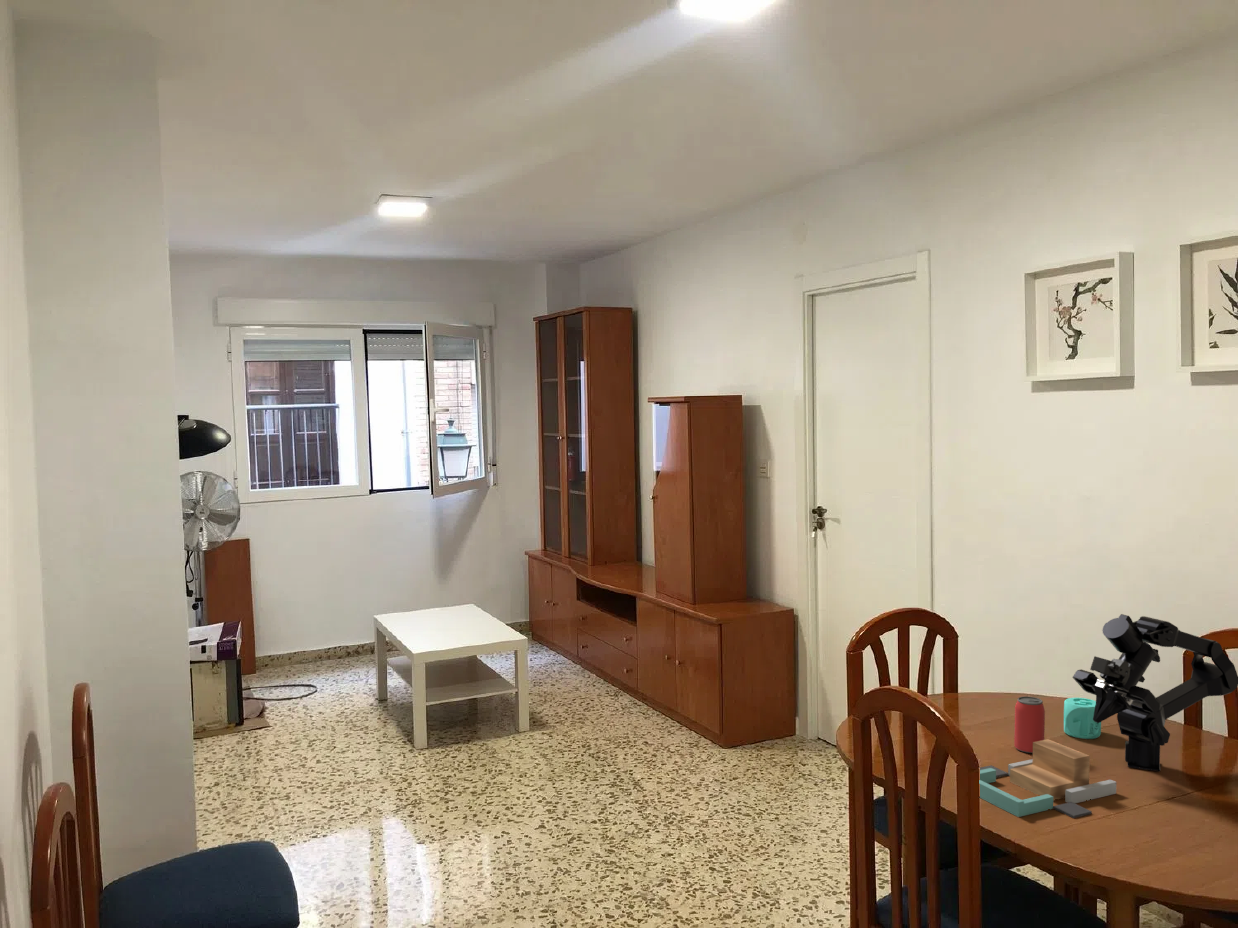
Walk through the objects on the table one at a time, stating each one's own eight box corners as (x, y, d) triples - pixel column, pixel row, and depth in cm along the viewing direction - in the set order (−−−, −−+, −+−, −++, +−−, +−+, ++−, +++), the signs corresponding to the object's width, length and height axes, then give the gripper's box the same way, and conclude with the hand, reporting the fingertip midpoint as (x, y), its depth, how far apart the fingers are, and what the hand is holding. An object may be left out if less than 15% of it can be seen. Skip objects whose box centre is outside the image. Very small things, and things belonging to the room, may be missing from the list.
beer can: (1047, 754, 228) (1048, 704, 227) (1017, 753, 229) (1018, 703, 228) (1040, 745, 234) (1041, 696, 233) (1011, 743, 235) (1012, 694, 234)
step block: (1047, 774, 216) (1048, 739, 216) (1088, 792, 206) (1089, 755, 206) (1009, 782, 212) (1010, 746, 211) (1050, 801, 202) (1051, 763, 201)
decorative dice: (1064, 736, 240) (1065, 705, 239) (1063, 726, 247) (1064, 695, 246) (1100, 740, 236) (1101, 708, 236) (1098, 730, 244) (1099, 699, 243)
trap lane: (1034, 758, 226) (1034, 745, 225) (1137, 802, 201) (1137, 788, 201) (941, 777, 215) (941, 764, 214) (1037, 826, 190) (1038, 811, 190)
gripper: (1078, 634, 223) (1042, 688, 220) (1150, 653, 206) (1112, 712, 203) (1103, 663, 227) (1068, 717, 223) (1176, 684, 210) (1139, 742, 206)
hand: (1095, 721), depth 214 cm, fingers closed
